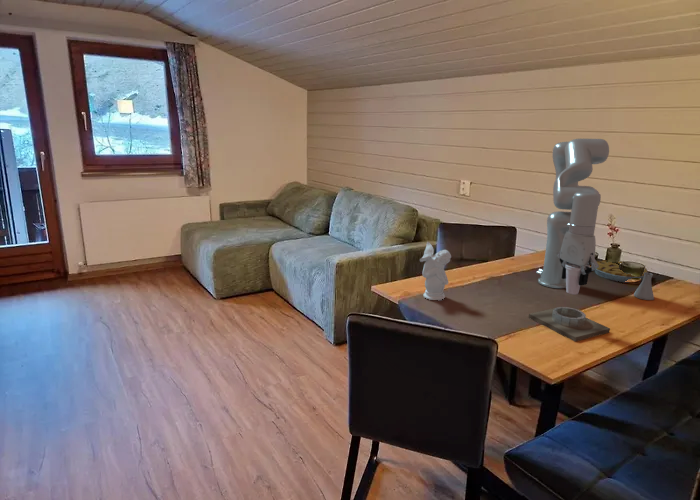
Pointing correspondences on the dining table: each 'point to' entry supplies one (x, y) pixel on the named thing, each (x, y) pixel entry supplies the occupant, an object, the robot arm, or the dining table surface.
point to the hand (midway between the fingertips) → (573, 281)
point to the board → (572, 333)
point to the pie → (614, 271)
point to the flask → (645, 288)
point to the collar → (560, 317)
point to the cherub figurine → (435, 272)
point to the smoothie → (572, 278)
